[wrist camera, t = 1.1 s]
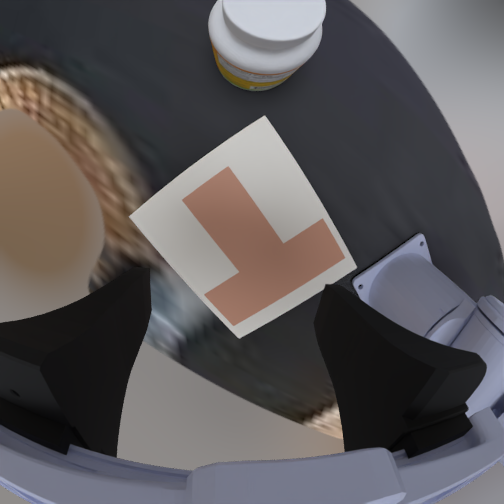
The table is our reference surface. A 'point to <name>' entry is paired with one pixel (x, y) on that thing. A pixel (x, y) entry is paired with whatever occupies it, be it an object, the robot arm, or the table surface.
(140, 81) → the table surface
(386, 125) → the table surface
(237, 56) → the supplement bottle
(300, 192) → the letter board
